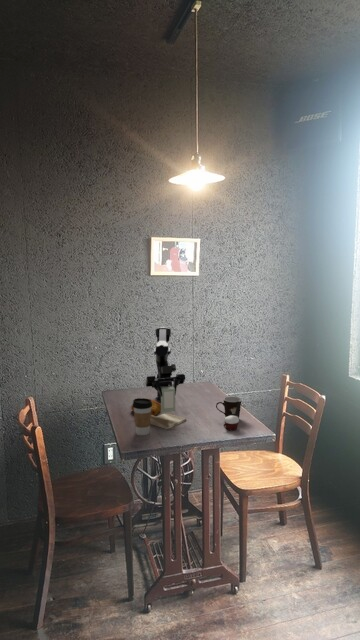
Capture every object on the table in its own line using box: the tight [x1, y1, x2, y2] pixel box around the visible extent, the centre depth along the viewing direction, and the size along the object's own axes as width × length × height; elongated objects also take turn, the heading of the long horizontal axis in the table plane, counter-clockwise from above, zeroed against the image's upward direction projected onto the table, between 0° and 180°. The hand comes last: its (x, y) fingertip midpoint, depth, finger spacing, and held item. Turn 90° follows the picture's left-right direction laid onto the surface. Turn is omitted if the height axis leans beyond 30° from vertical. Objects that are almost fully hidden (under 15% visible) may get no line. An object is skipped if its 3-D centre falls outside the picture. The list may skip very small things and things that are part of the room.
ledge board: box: [150, 412, 187, 430], centre depth 200 cm, size 14×13×4 cm
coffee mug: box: [215, 396, 242, 419], centre depth 203 cm, size 12×9×10 cm
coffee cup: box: [132, 397, 152, 436], centre depth 186 cm, size 8×8×15 cm
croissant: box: [130, 397, 162, 416], centre depth 213 cm, size 14×16×8 cm
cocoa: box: [223, 400, 242, 431], centre depth 190 cm, size 10×6×12 cm, turn 103°
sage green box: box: [160, 386, 176, 413], centre depth 200 cm, size 4×6×11 cm, turn 106°
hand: (168, 395), depth 198 cm, fingers closed on sage green box, 6 cm apart
